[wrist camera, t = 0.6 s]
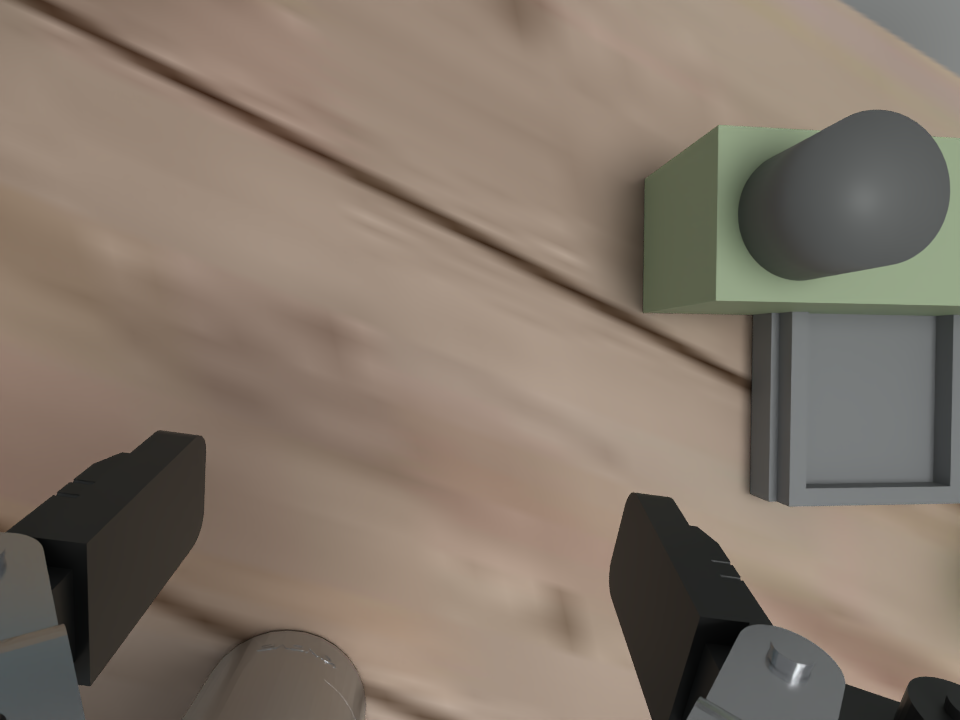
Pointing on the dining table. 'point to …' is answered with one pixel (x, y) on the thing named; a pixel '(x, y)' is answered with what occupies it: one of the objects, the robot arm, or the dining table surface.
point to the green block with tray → (826, 298)
